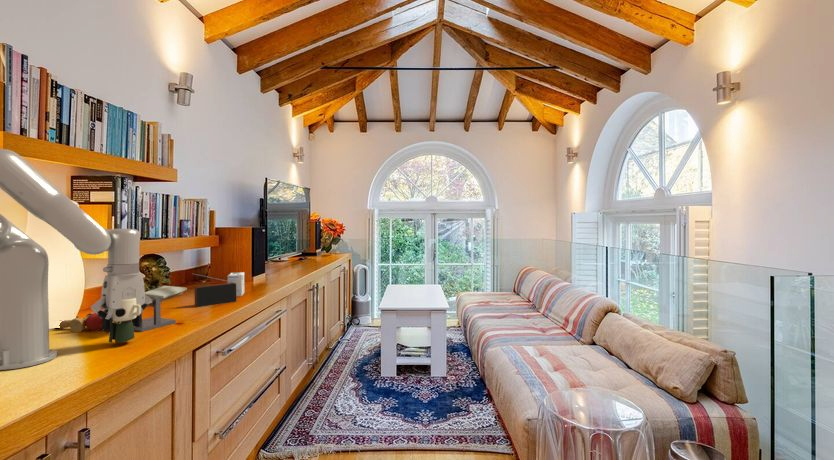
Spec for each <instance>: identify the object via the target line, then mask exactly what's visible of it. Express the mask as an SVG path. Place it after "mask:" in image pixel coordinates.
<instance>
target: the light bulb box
mask: <svg viewBox="0 0 834 460" xmlns="http://www.w3.org/2000/svg"><path fill="white" fill-rule="evenodd" d="M227 281H230V282H227V283H231V282H233V283H236V297H242V296H243V295H244V294H245V271H243V272H242V271H240V272H230V274H228V275H227Z"/></svg>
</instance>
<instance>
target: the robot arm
mask: <svg viewBox="0 0 834 460" xmlns="http://www.w3.org/2000/svg"><path fill="white" fill-rule="evenodd" d="M0 189H1V190H2V191H3V192H4V193H6V194H7V195H8V196H9V197H10V198H12V200H14V201H16V203H18V204H19V205H20V206H21V207H22V208H24V209H25V210H26V211H27V212H29V213H30V214H31V215H33V216H34V217H36V218H37V219H39V220H42V221H43V222H45V223H46V224H48V225H49V226H51V227H52V228H53V229H54V230H56V231H57V232H58V233H60V234H61V235H62V236H63V237H64V238H66V239H67V240H68V241H69V242H70V243H72V245H74V247H75V248H76V250H78V251H79V252H82V253H84V254H86V255H93V256H94V255H100V254H103V253H104V252H107V264H106V265H107V266H104V267H103V268H102V271H103V272H104V273H107V274H106V275H105V276H104V277H103V282H102V287H101V294H100V299H98V300H97V301H95V302H94V304H92V305H91V306H90V310H91V311H93V313H96V314H97V315H98V316H100V318H102V329H101V330H102V332H103V333H107V334H110V333H111V332H112V326H113V322H114V321H113V319H110V317H111V316H112V314H113V312H114V310H119V309H122V308H121V304H122V300H126V299H133V298H136V304H138V305H141V313H142V314H143V313H144V310H145V309H146V308H147V304H149V302H150V301H151V298H150V297H148V296H147V295H145V292H146V290H145V282H144V277H143V273H141V272H140V241H141V239H140V238H141V237H140V236H141V235H140V231H139V230H137V228H112V229H110V228H109V229H108V228H104V227H102V226H101V225H100V224H99V223H98V222H97V221H96V220H95V219H94V218H92V216H90V215H89V214H88V213H87V212H85V211H84V210H83V209H82V208H80V206H78V205H77V204H75V203H74V201H72V200H71V199H70V198H69V197H68V196H67V195H66V194H65V193H64V192H62V190H60V189H59V188H58V187H57V186H56V185H54V184H53V183H52V182H51V181H50V180H49V179H47V178H46V176H45V175H44V174H42V173H41V172H40V171H39V170H37V169H36V168H35V167H34V166H33V165H32V164H31V163H30V162H29V161H28V160H26V159H25V158H24V157H22V156H21V155H20V154H19V153H17V152H15V151H14V150H10V149H6V148H0ZM49 263H50V262H49V256H48V253H47V250H46V249H45V248H44V247H43V246H42V245H41V244H39V243H37V242H36V241H35V240H34V239H32V238H31V237H30V236H29V235H27V234H26V233H25V232H24V231H22V230H21V229H20V228H19V227H17V226H16V225H15V224H13V222H11V221H10V220H9V219H8V218H6V217H5V216H4V215H3V214H1V213H0V371H5V370H7V371H8V370H14V369H15V370H17V369H22V368H27V367H33V366H36V365H39V364H43V363H47V362H49V361H52V360H54V359H55V358H56V357H58V351H57V350H55V349H50V321H49V320H50V319H49V316H50V313H49V312H50V311H49V306H50V305H49ZM101 307H102V308H104V310H103V309H101ZM131 321H132V322H133V326H136V327H140V323H141V314H140V315H139V316H137V317H136V318H134V319H132V320H131Z"/></svg>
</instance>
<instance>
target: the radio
mask: <svg viewBox="0 0 834 460" xmlns="http://www.w3.org/2000/svg"><path fill="white" fill-rule="evenodd" d="M190 274H191V275H193V273H192V272H191V273H190ZM194 275H196V276H198V274H196V273H194ZM199 276H201V277H206V278H209V279H215V280H219V281H223V282H226V283H219V284H210V285H202V286H194V307H196V308H202V307H208V306H216V305H223V304H229V303H231V304H232V303H236V302H237V296H236V283H233V282H231V283H228V282H230V281H228V280H225V279H220V278H216V277H215V278H214V277H211V276H206V275H201V274H199Z"/></svg>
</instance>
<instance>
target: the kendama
mask: <svg viewBox="0 0 834 460" xmlns="http://www.w3.org/2000/svg"><path fill="white" fill-rule="evenodd" d="M61 321H62V320H61ZM59 326H60V328H62V329H66V328H67V329H68V328H70V330H71V331H72V332H74V333H81V332H83V331H85V329H86V328H87V329H88V330H90V331H101V330H103V329H102V318H100V316H98V315H97V314H96V313H95V312H89V313H88V314H86V316H85V317H84V318H80V317H76V318H74V319H67V320H66V319H65V320H64V321H62V322H61V323H60V325H59Z"/></svg>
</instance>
